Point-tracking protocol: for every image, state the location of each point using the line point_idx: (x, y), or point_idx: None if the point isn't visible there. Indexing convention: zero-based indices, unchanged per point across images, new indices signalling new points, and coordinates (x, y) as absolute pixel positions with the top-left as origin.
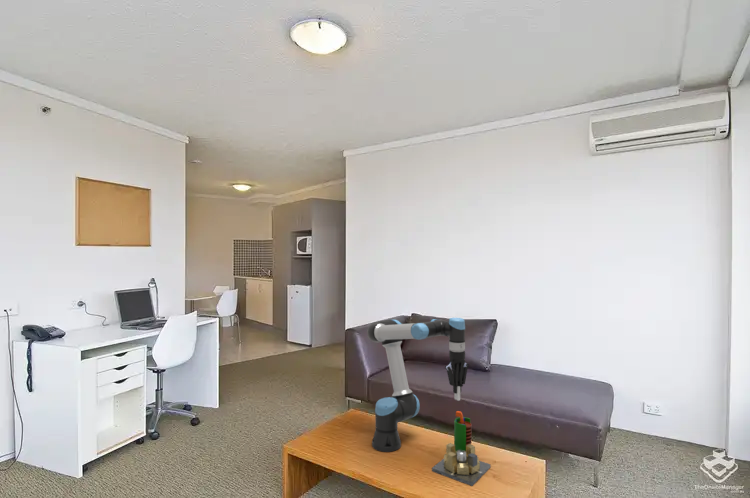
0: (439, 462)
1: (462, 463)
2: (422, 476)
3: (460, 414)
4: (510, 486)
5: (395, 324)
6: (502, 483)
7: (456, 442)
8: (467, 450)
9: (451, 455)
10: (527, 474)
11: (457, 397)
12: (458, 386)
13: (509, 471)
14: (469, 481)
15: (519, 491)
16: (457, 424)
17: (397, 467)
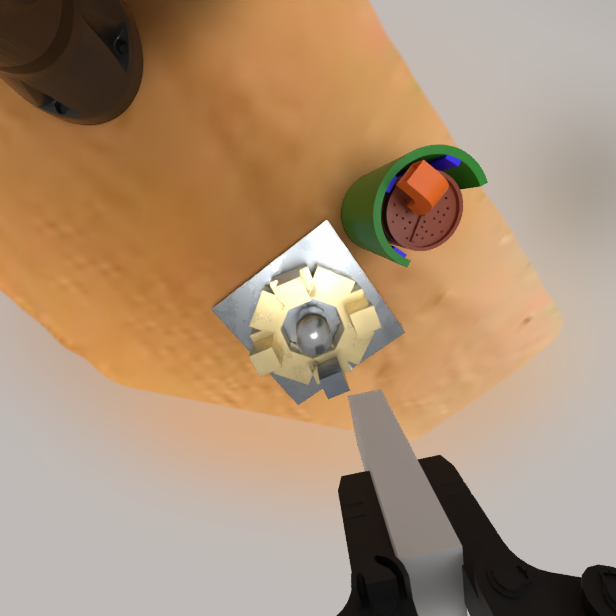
0: (249, 282)
1: (302, 356)
2: (175, 326)
3: (426, 204)
4: None
5: None
6: None
7: (350, 221)
8: (349, 317)
9: (259, 371)
10: (473, 382)
11: (364, 464)
12: (441, 609)
13: (438, 359)
14: (293, 398)
15: None
16: (373, 231)
17: (101, 254)
